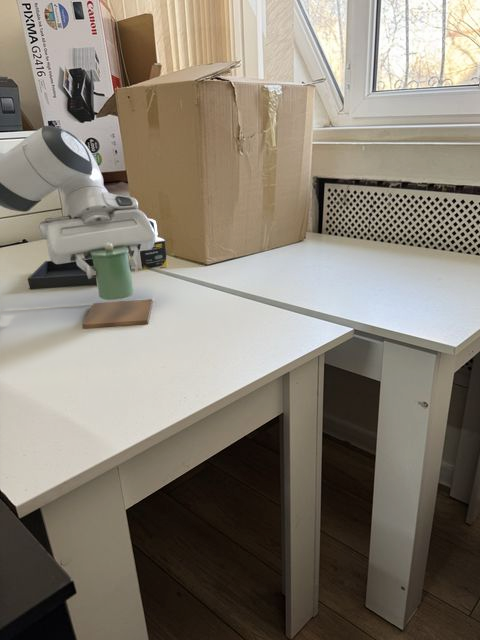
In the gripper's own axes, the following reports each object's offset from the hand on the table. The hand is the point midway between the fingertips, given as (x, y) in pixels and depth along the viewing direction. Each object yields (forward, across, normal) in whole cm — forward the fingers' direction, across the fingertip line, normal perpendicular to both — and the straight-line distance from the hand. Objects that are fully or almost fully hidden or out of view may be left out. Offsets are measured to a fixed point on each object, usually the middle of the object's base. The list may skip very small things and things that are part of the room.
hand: (114, 272), depth 96 cm
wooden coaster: (+6, 0, +7) cm, 9 cm away
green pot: (+3, 0, +4) cm, 4 cm away
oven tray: (-16, -2, +28) cm, 32 cm away
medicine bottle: (-16, +17, +29) cm, 37 cm away
